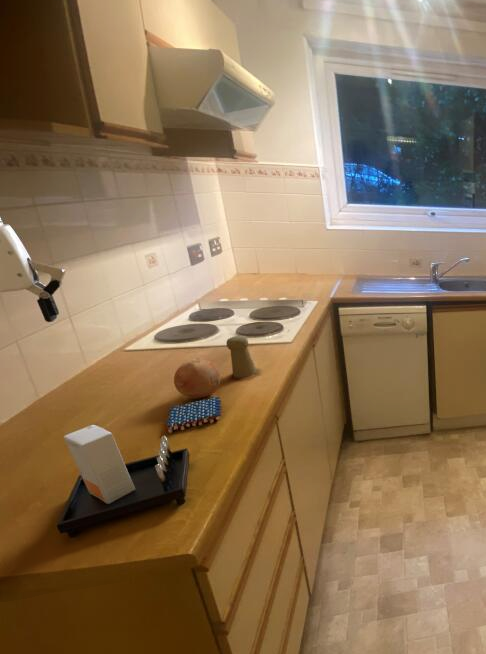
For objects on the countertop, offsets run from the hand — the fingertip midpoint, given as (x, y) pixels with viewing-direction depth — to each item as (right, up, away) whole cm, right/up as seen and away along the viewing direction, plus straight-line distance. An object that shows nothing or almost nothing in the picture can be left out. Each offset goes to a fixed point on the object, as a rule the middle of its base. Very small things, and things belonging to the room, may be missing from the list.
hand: (12, 324), depth 72 cm
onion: (+3, -16, +41) cm, 44 cm away
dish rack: (+16, -31, +6) cm, 35 cm away
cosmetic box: (+13, -29, +4) cm, 32 cm away
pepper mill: (+6, -11, +53) cm, 55 cm away
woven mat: (+8, -20, +31) cm, 38 cm away
